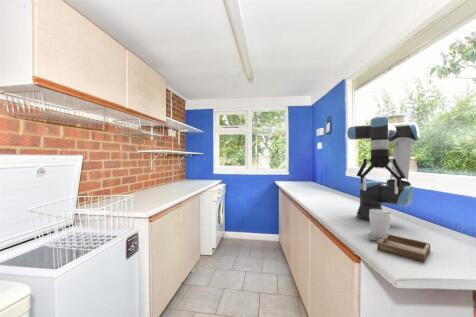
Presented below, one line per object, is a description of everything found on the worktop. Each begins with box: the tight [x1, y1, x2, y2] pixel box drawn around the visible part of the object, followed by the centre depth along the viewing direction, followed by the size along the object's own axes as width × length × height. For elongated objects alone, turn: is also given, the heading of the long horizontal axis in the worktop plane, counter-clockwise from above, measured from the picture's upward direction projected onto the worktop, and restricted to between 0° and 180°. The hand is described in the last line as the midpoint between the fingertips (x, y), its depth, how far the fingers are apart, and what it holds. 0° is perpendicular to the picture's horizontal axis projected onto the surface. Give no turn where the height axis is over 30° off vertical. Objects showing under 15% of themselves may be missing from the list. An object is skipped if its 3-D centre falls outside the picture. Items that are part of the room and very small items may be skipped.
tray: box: [376, 233, 431, 263], centre depth 91 cm, size 15×15×3 cm
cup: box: [369, 209, 392, 239], centre depth 108 cm, size 9×9×12 cm
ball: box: [367, 231, 379, 242], centre depth 101 cm, size 4×4×4 cm
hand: (379, 191), depth 108 cm, fingers open, 13 cm apart
